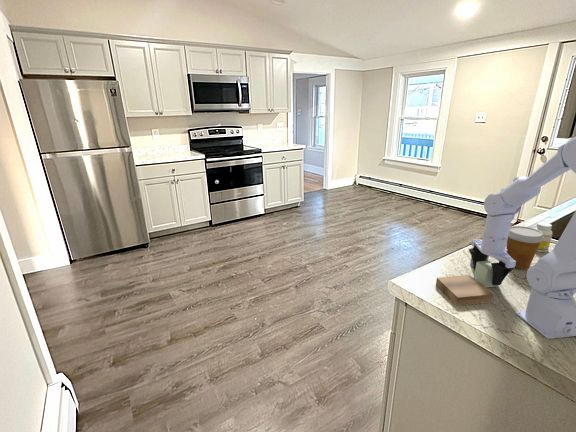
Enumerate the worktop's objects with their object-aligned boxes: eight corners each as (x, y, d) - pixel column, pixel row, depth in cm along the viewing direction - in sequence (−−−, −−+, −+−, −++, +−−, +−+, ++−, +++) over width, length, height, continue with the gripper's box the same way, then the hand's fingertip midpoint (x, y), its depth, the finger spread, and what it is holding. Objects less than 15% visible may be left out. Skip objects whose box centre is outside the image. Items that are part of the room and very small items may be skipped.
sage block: (498, 286, 88) (502, 268, 86) (483, 287, 88) (487, 269, 86) (487, 278, 93) (490, 260, 91) (473, 279, 92) (476, 261, 90)
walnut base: (492, 302, 81) (493, 294, 81) (456, 305, 81) (458, 297, 80) (467, 282, 91) (468, 274, 90) (435, 285, 90) (436, 277, 89)
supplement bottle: (549, 253, 106) (556, 228, 102) (530, 250, 108) (536, 225, 105) (545, 247, 110) (552, 222, 107) (527, 245, 112) (533, 220, 109)
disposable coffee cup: (541, 267, 97) (550, 232, 93) (525, 275, 93) (535, 239, 89) (509, 255, 105) (516, 223, 101) (493, 262, 101) (500, 229, 97)
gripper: (530, 245, 79) (519, 290, 83) (490, 225, 92) (482, 264, 97) (505, 247, 78) (495, 292, 83) (468, 226, 92) (461, 266, 96)
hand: (486, 277), depth 90 cm, fingers open, 7 cm apart
